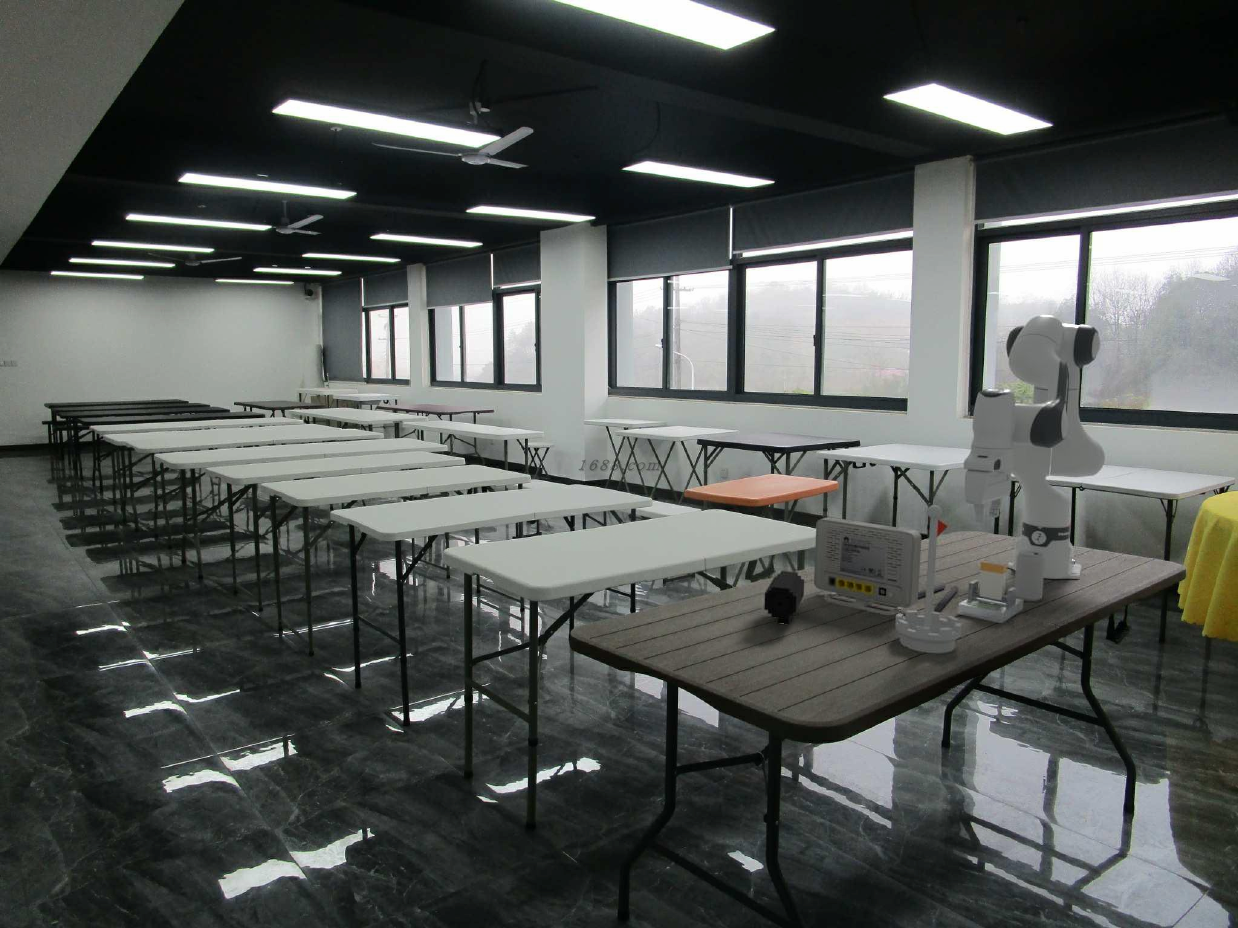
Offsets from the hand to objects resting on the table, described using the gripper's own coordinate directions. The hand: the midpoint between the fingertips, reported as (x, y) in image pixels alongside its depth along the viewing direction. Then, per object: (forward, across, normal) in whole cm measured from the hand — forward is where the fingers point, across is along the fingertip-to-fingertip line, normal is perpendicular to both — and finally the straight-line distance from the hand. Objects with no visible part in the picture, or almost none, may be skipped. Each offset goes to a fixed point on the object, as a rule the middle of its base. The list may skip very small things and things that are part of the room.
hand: (987, 519), depth 188 cm
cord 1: (+24, -10, -17) cm, 31 cm away
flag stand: (+24, +26, -2) cm, 35 cm away
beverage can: (+24, -25, +3) cm, 35 cm away
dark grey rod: (+24, -8, -11) cm, 27 cm away
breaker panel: (+24, -7, 0) cm, 25 cm away
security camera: (+24, +33, -32) cm, 52 cm away
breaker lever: (+20, -7, 0) cm, 21 cm away
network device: (+24, +9, -25) cm, 36 cm away
